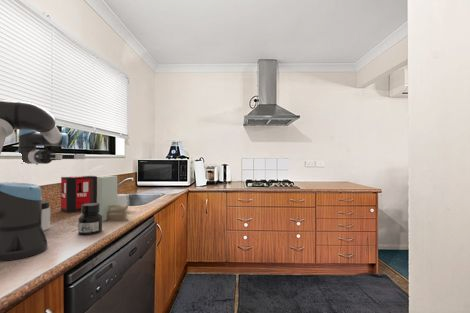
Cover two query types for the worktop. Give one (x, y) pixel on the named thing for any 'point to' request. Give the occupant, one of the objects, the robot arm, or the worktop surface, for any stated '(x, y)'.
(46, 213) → the jar
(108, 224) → the worktop surface
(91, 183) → the cleaning product box
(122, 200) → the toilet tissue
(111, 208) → the slotted rail
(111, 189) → the pale green panel
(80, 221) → the ink bottle
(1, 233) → the robot arm
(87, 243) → the worktop surface
